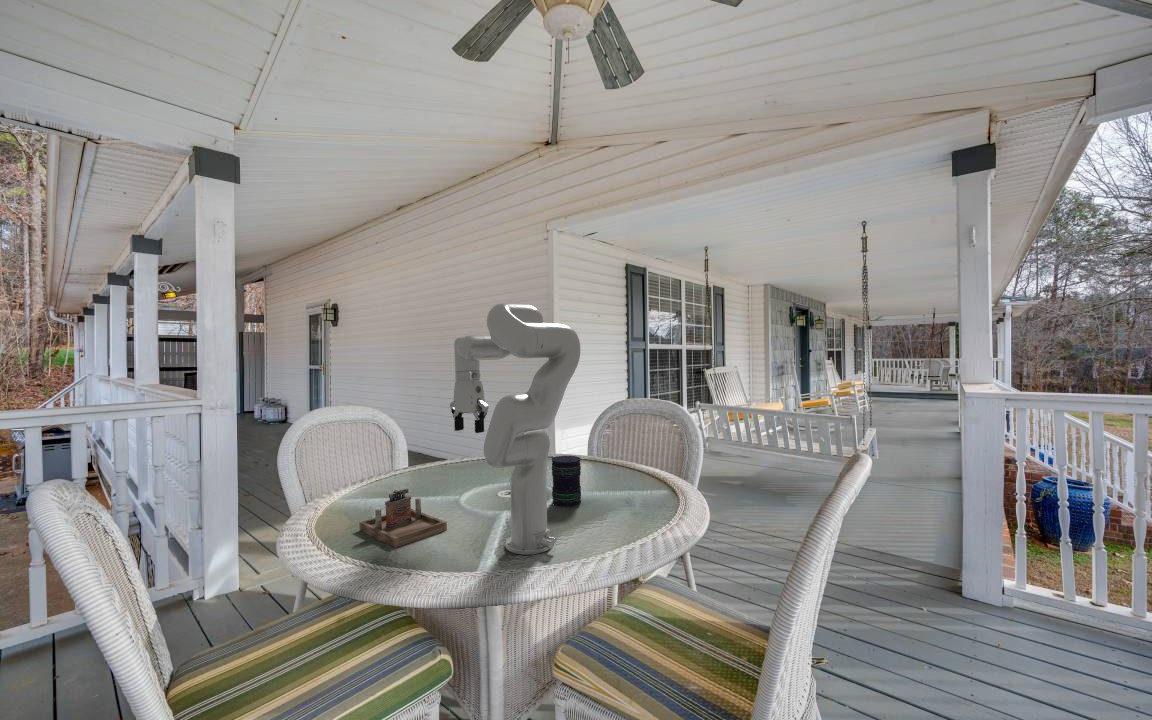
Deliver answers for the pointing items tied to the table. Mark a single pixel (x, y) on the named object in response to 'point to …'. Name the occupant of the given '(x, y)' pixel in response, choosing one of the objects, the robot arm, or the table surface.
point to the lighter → (398, 509)
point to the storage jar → (566, 481)
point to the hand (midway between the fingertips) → (469, 431)
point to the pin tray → (403, 527)
